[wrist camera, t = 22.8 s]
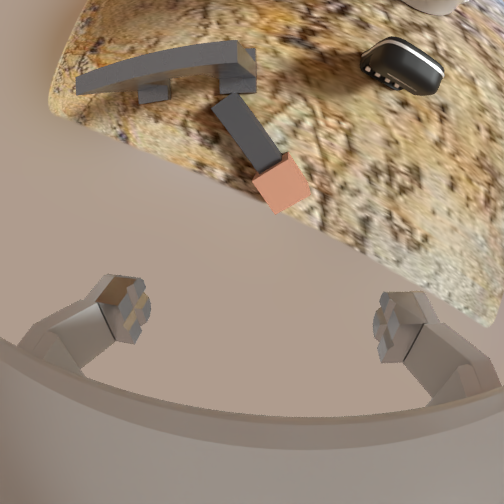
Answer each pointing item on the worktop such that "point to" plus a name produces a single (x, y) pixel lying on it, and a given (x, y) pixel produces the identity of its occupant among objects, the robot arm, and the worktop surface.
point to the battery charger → (402, 66)
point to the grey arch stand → (175, 71)
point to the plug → (263, 155)
